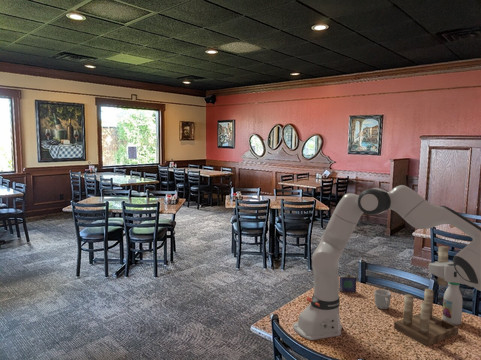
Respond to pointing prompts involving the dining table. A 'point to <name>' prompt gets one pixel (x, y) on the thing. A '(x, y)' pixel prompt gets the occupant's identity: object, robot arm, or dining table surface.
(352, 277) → the flask
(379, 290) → the cup
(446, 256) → the loose leg
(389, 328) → the dining table surface
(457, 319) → the milk bottle
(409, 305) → the stool
